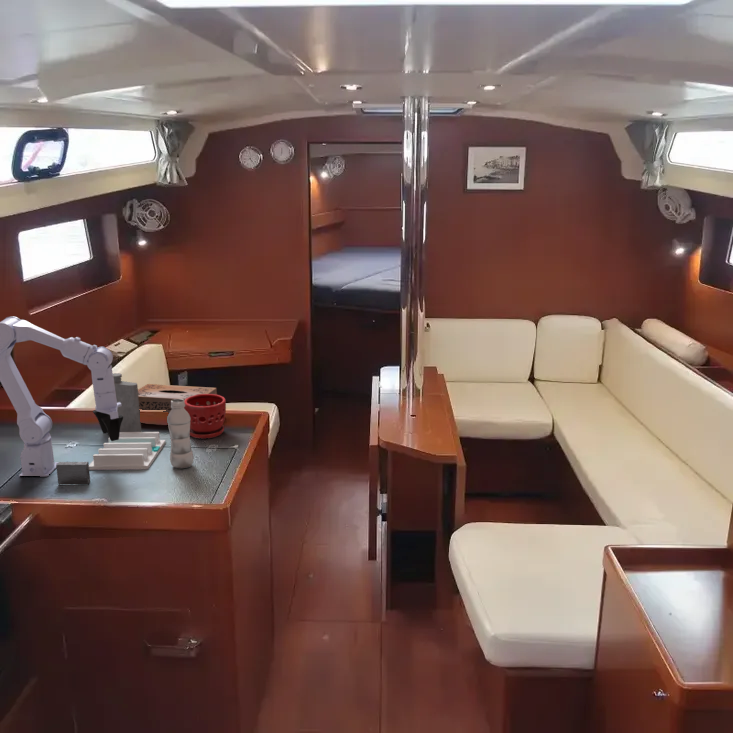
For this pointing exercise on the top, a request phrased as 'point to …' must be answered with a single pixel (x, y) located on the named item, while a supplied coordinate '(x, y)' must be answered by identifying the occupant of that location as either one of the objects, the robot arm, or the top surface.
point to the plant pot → (206, 415)
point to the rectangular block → (73, 472)
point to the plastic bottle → (180, 435)
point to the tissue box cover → (168, 395)
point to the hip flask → (127, 404)
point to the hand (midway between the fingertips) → (110, 436)
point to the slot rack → (128, 451)
